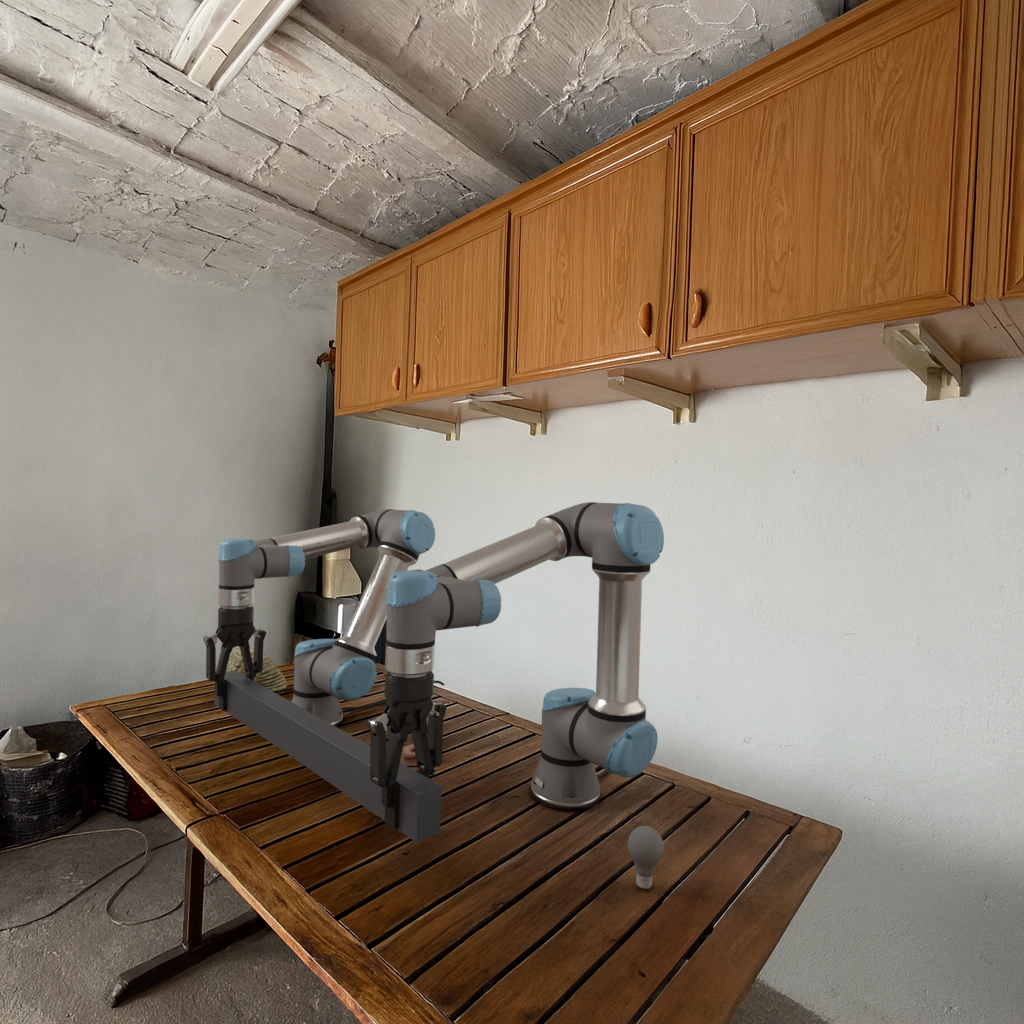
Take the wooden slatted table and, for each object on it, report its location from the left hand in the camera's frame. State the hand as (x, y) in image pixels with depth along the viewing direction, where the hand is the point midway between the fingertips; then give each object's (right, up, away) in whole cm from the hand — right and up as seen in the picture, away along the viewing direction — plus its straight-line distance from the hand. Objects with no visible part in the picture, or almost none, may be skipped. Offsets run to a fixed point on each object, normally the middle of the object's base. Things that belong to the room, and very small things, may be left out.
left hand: (234, 706), depth 146 cm
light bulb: (+86, -19, -39) cm, 96 cm away
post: (+24, -2, -23) cm, 33 cm away
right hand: (+47, -3, -47) cm, 67 cm away
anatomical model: (+40, -16, +10) cm, 44 cm away
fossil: (-17, -12, +52) cm, 56 cm away
